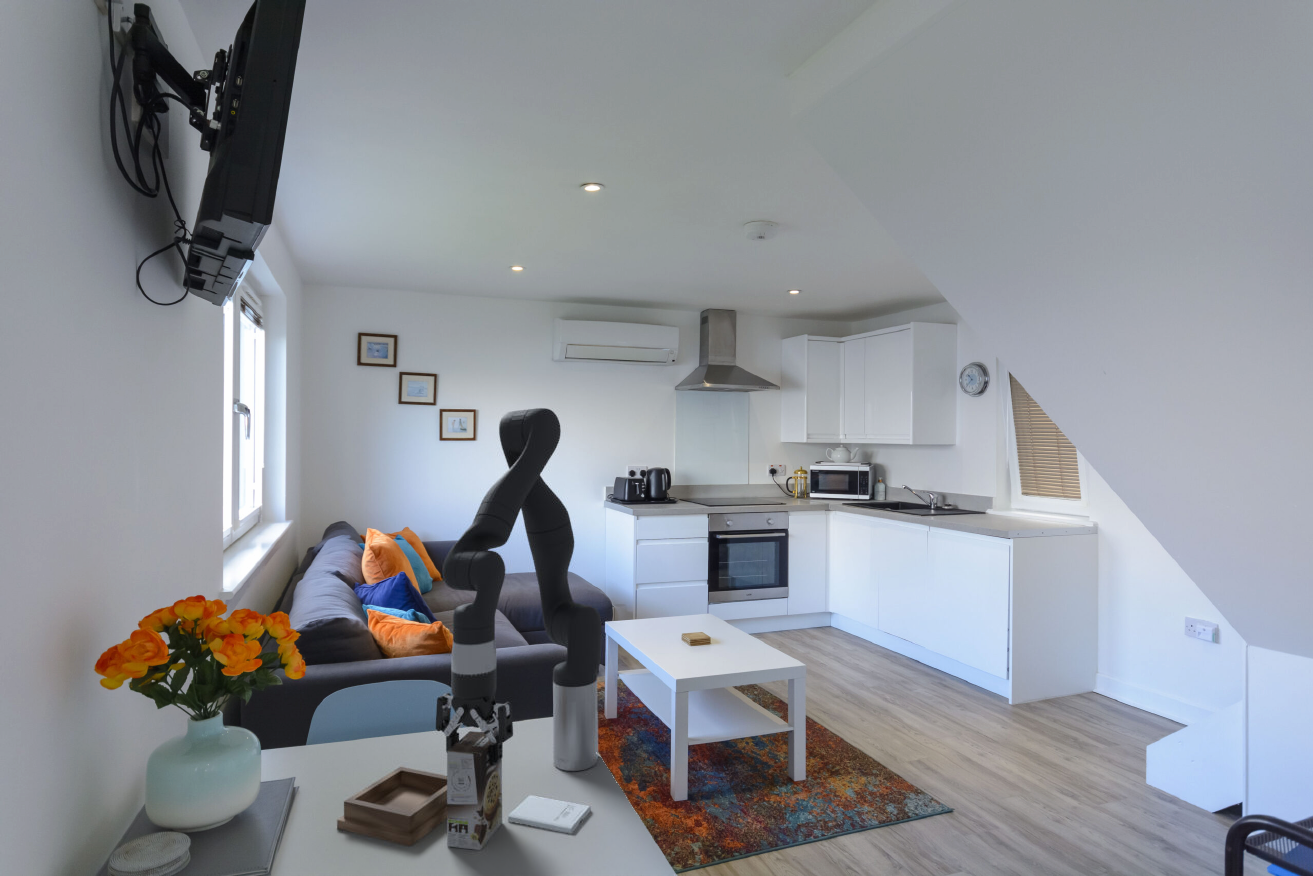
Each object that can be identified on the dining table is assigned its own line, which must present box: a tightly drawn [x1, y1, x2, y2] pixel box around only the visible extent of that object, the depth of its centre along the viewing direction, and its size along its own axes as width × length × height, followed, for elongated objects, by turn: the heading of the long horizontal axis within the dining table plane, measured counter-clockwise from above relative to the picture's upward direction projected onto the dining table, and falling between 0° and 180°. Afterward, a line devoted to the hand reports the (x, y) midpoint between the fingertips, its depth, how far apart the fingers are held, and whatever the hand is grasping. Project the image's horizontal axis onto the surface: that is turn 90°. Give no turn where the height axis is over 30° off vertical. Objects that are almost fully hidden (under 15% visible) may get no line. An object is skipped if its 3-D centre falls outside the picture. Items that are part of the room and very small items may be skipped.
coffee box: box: [446, 730, 503, 851], centre depth 126 cm, size 9×6×16 cm
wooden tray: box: [336, 766, 447, 847], centre depth 133 cm, size 16×16×4 cm
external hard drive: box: [507, 794, 592, 835], centre depth 132 cm, size 2×8×12 cm
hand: (473, 760), depth 126 cm, fingers open, 8 cm apart
